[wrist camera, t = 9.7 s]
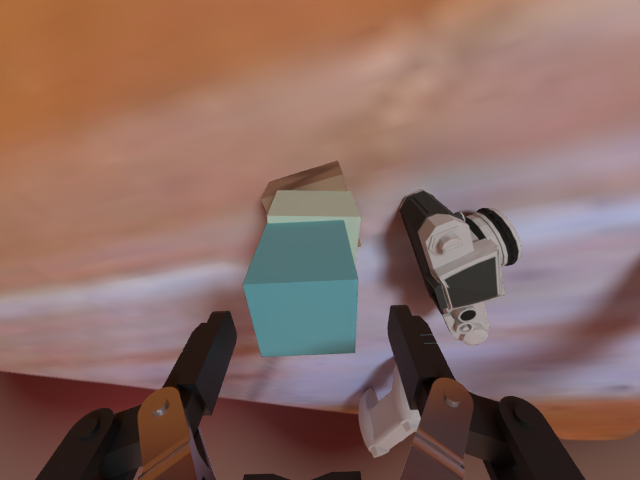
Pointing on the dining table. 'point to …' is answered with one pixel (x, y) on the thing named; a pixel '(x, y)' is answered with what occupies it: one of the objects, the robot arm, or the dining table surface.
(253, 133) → the dining table surface
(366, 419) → the game controller
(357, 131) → the dining table surface
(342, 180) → the walnut base block
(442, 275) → the camera
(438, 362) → the robot arm
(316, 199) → the sage block
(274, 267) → the teal block
